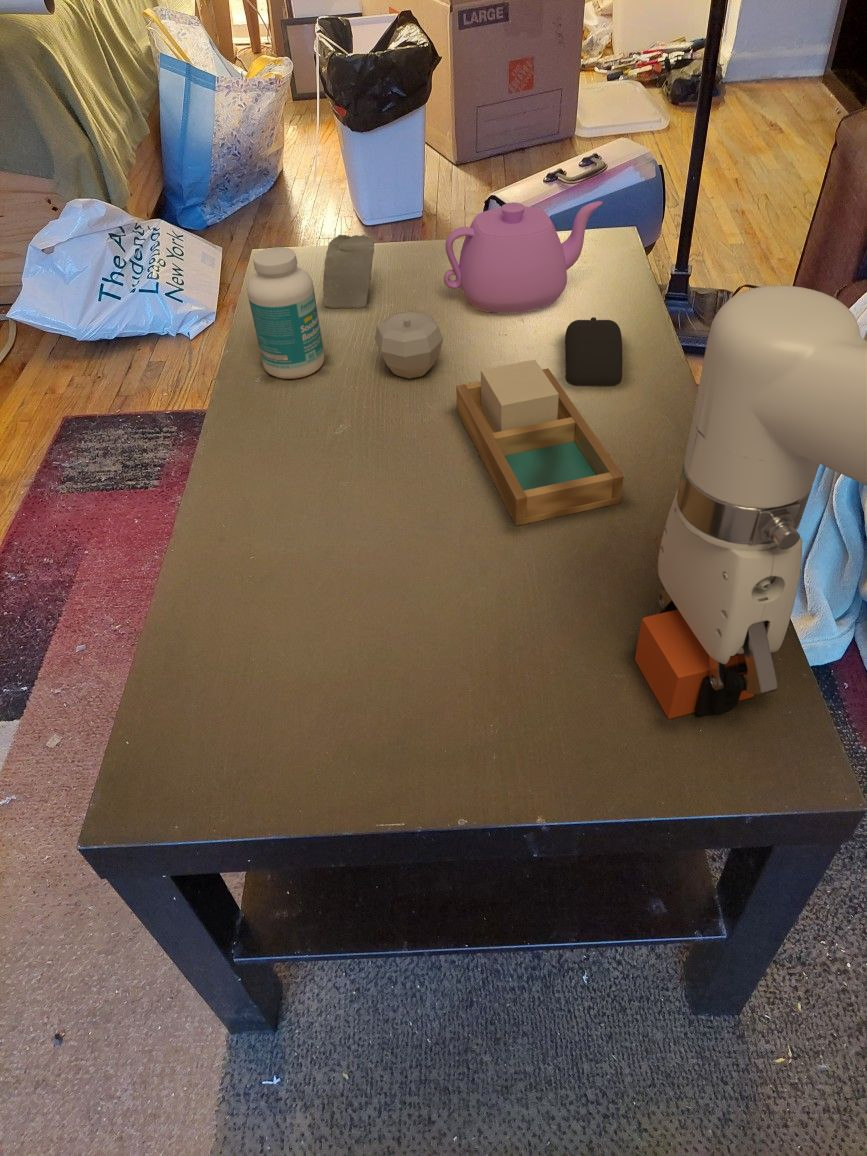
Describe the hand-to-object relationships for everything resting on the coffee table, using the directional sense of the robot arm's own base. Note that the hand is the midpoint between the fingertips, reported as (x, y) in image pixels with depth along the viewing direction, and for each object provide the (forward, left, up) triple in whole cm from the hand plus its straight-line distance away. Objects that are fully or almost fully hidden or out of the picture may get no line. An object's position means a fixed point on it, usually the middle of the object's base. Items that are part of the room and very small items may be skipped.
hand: (693, 673), depth 65 cm
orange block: (0, 0, -1) cm, 1 cm away
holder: (+2, -31, -1) cm, 31 cm away
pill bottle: (+23, -57, -1) cm, 61 cm away
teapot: (-8, -64, -1) cm, 65 cm away
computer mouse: (-11, -46, -1) cm, 47 cm away
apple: (+10, -51, -1) cm, 52 cm away
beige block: (+2, -36, 0) cm, 36 cm away
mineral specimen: (+13, -72, -1) cm, 73 cm away
